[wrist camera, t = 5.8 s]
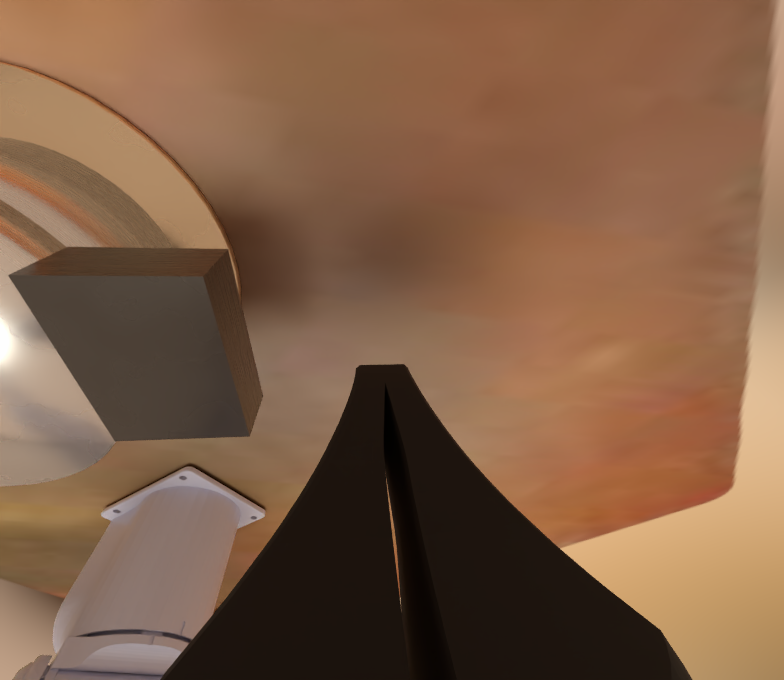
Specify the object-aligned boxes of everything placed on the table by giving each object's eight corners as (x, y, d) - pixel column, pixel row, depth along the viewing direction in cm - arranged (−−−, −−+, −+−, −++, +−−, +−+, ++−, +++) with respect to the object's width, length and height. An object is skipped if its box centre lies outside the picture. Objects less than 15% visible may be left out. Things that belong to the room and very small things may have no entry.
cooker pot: (-8, 390, 19) (-122, 477, 15) (-306, 38, 11) (-796, -13, 6) (264, 384, 21) (238, 461, 16) (193, 69, 12) (95, 46, 8)
